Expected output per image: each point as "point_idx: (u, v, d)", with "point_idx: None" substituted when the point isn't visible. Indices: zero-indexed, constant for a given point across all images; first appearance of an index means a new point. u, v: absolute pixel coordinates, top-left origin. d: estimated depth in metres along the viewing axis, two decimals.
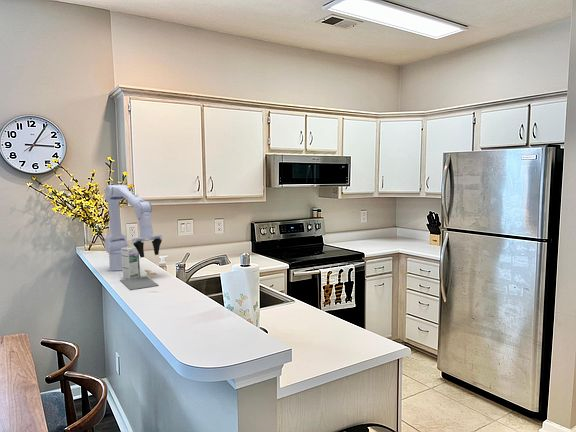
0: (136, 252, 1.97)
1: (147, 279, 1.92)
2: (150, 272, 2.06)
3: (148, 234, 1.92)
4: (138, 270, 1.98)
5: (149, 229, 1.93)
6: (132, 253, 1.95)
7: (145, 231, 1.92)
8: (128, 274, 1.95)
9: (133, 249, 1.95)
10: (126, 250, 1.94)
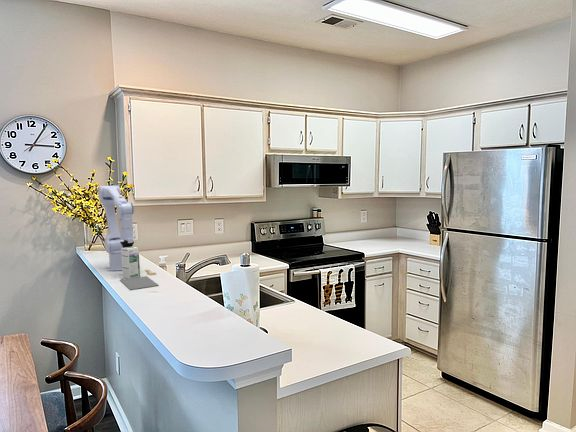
0: (136, 252, 1.97)
1: (147, 279, 1.92)
2: (150, 272, 2.06)
3: (132, 235, 2.02)
4: (138, 270, 1.98)
5: None
6: (132, 253, 1.95)
7: (132, 232, 2.01)
8: (128, 274, 1.95)
9: (133, 249, 1.95)
10: (126, 250, 1.94)
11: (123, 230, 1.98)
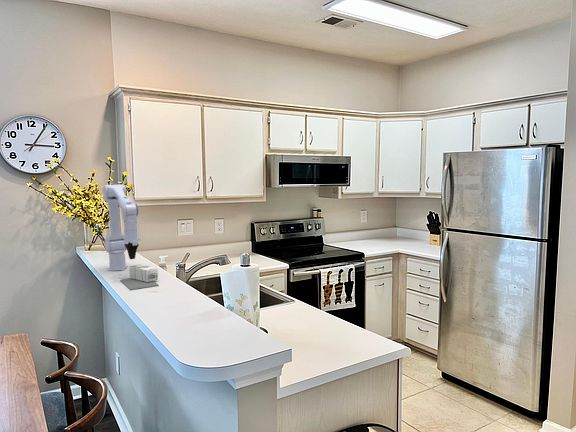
0: None
1: None
2: None
3: (137, 237, 1.94)
4: None
5: None
6: None
7: (136, 234, 1.93)
8: (132, 277, 1.93)
9: (151, 280, 1.88)
10: (145, 279, 1.86)
11: (127, 232, 1.90)
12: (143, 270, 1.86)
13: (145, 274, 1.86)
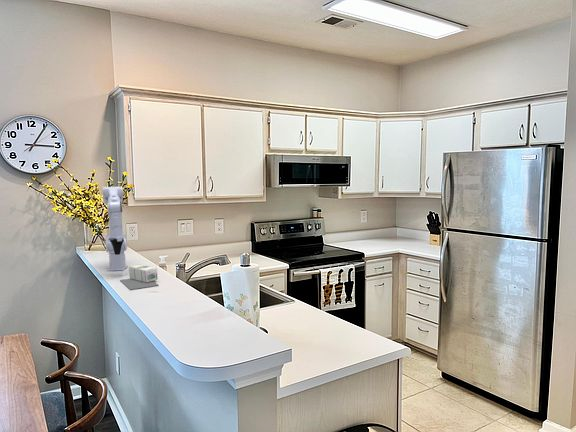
0: None
1: None
2: None
3: (122, 233, 2.01)
4: None
5: None
6: None
7: (121, 230, 2.00)
8: (132, 277, 1.93)
9: (151, 280, 1.88)
10: (145, 279, 1.86)
11: (112, 228, 1.97)
12: (142, 270, 1.86)
13: (145, 274, 1.85)
